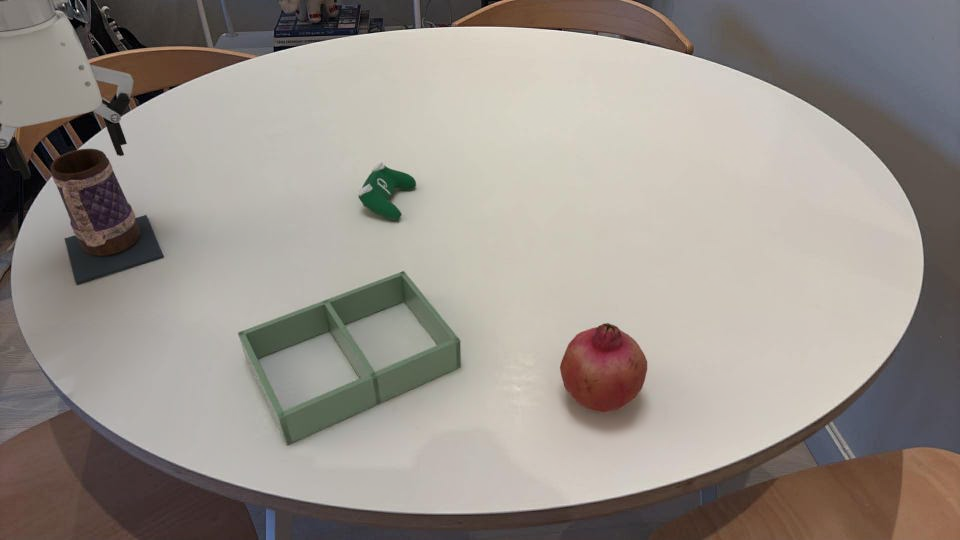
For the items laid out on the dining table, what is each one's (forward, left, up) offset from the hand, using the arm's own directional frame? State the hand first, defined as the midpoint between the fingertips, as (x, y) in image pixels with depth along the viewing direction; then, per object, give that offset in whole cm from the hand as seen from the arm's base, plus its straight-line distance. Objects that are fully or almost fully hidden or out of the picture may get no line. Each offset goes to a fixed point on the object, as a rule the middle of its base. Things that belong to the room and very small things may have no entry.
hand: (74, 162), depth 79 cm
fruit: (+37, -50, -13) cm, 64 cm away
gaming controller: (+34, -8, -13) cm, 38 cm away
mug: (0, 0, -13) cm, 13 cm away
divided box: (+18, -33, -13) cm, 40 cm away
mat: (0, 0, -13) cm, 13 cm away
